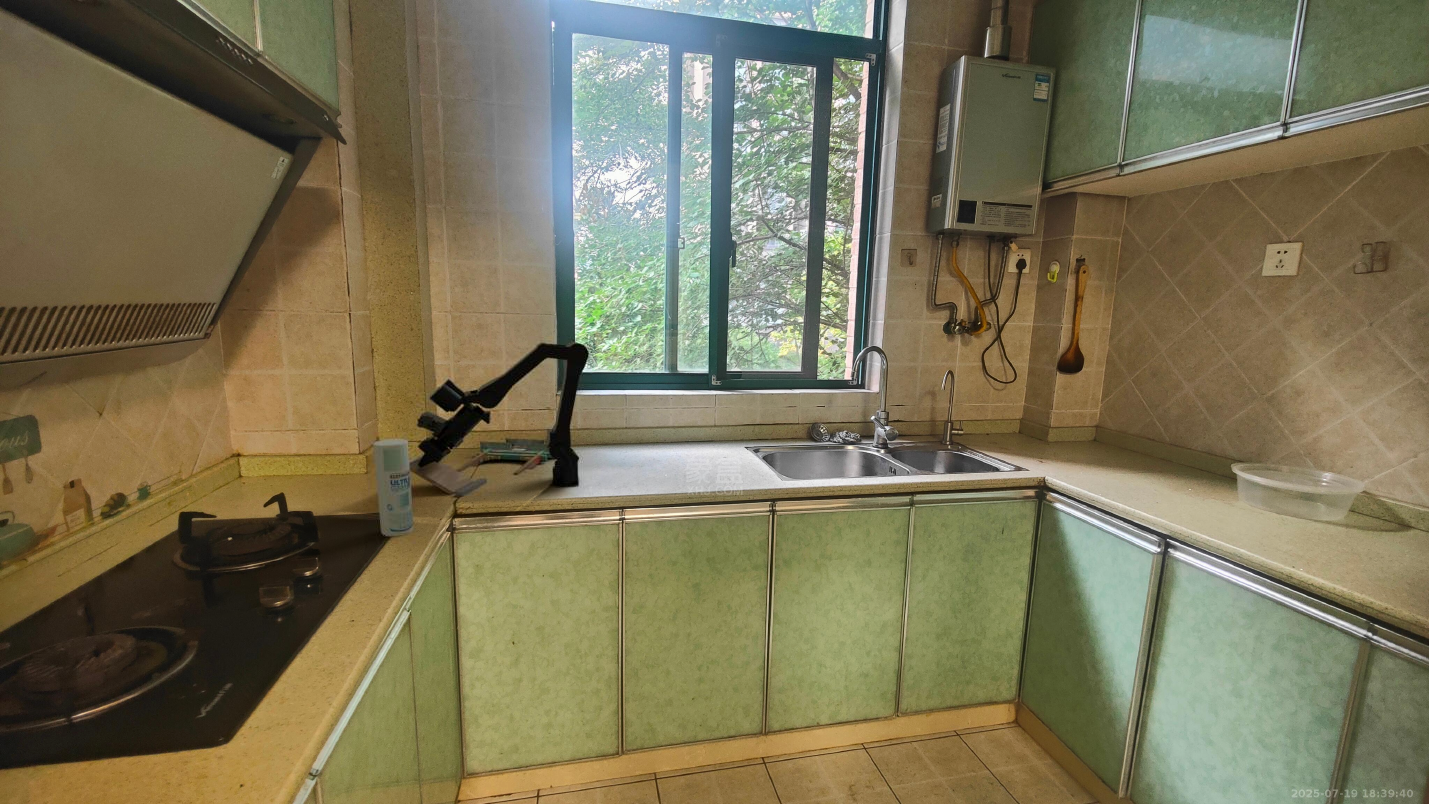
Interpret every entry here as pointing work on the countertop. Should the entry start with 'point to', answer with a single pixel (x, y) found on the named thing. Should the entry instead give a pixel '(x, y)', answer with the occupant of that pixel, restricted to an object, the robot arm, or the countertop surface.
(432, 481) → the fence panel
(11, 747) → the countertop surface
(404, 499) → the spray can
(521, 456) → the miniature gate
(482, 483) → the base
